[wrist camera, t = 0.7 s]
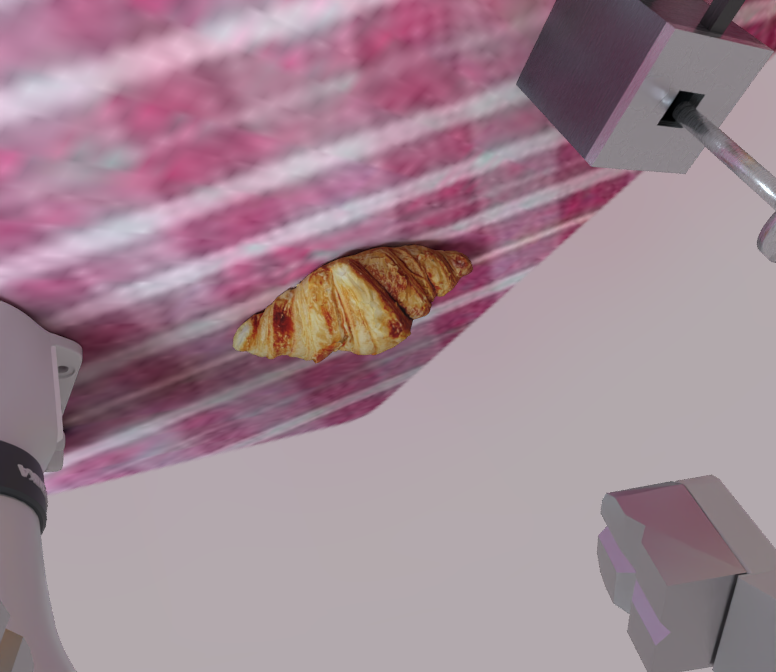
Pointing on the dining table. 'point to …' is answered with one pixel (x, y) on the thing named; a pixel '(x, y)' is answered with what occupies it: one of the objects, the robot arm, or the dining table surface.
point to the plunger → (734, 167)
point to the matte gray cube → (639, 76)
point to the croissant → (354, 304)
